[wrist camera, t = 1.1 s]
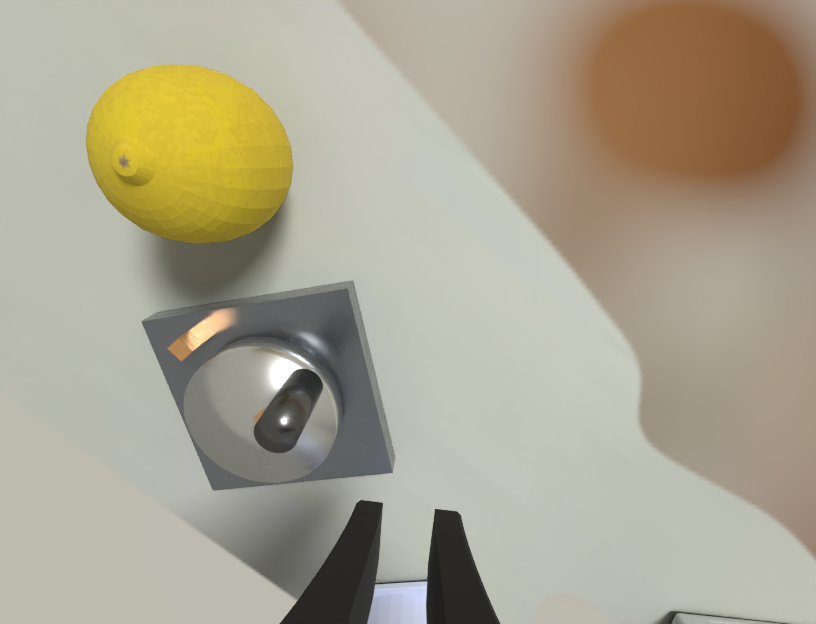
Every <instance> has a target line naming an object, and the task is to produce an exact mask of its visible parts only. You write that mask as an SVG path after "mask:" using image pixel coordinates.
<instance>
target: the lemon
mask: <svg viewBox="0 0 816 624" xmlns="http://www.w3.org/2000/svg"><path fill="white" fill-rule="evenodd" d="M86 147H87V153H88V159H89V165H90V167H91V170H92V172H93V175H94V177H95V180H96V182H97V184H98V186H99V187H100V189H101V190H102V192H103V193H104V195H105V197H106V198H107V200H108V201H109V202H110V203H111V204H112V205H113V206H114V207H115V208H116V209H117V210H118V211H119V212H120V213H121V214H122V215H123V216H124V217H126V218H127V219H129V220H130V221H132V222H133V223H134V224H136V225H137V226H139V227H140V228H142V229H144V230H146V231H148V232H151V233H153V234H155V235H158V236H160V237H163V238H165V239H170V240H175V241H181V242H187V243H195V244H204V243H215V242H225V241H230V240H233V239H236V238H238V237H241V236H244V235H246V234H249V233H251V232H253V231H255V230H256V229H258V228H259V227H260V226H262V225H263V224H264V223H266V222H267V221H268V220H270V219H271V218H272V217H273V216H274V214H275V213H276V212H277V210H278V209H279V208H280V206H281V205H282V203H283V202H284V200H285V198H286V195H287V192H288V190H289V187H290V185H291V180H292V171H293V160H292V152H291V146H290V143H289V140H288V138H287V135H286V132H285V129H284V127H283V126H282V124H281V122H280V121H279V119H278V118H277V116H276V114H275V113H274V111H273V110H272V108H271V107H270V106H269V105H268V104H267V103H266V102H265V101H264V100H263V99H262V98H261V97H260V96H259V95H258V94H257V93H255V92H254V91H253V90H252V89H250V88H248V87H247V86H245V85H244V84H242V83H240V82H239V81H237V80H235V79H234V78H232V77H231V76H229V75H226V74H224V73H220V72H217V71H214V70H211V69H207V68H204V67H200V66H196V65H158V66H153V67H149V68H146V69H143V70H140V71H136V72H133V73H130V74H127V75H126V76H124V77H122V78H121V79H120V80H118V81H117V82H115V83H114V84H113V85H111V86H110V87H108V88H107V89H106V91H105V92H104V93H103V95H102V96H101V97H100V99H99V100H98V102H97V103H96V104H95V106H94V107H93V110H92V113H91V116H90V119H89V122H88V125H87V137H86Z"/></svg>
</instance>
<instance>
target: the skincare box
mask: <svg viewBox="0 0 816 624" xmlns="http://www.w3.org/2000/svg"><path fill="white" fill-rule="evenodd" d="M672 624H781V623H771V622H762V621H752V620H742V619H732V618H722V617H712V616H703V615H693V614H684V613H677V614H676V615H675V617H674V619H673V621H672Z"/></svg>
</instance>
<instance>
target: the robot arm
mask: <svg viewBox="0 0 816 624" xmlns="http://www.w3.org/2000/svg"><path fill="white" fill-rule="evenodd" d="M382 507H383V503H380V502H372V501H364V500H361V501H359V502H358V503H357V504H356V506H355V509H354V511H353V513H352V515H351V517H350V519H349V521H348V523H347V525H346V527H345V529H344V531H343V533H342V534H341V536H340V538H339V540H338V541H337V543H336V545H335V546H334V548H333V549H332V551H331V553H330V554H329V556H328V557H327V559H326V561H325V562H324V564H323V565H322V567H321V568H320V570H319V571H318V573H317V574H316V576H315V577H314V579H313V580H312V581H311V583H310V584H309V586H308V587H307V588H306V590H305V591H304V593H303V594H302V596H301V597H300V598H299V600H298V601H297V602H296V604H295V605H294V606H293V608H292V609H291V610H290V612H289V613H288V614H287V615H286V616H285V618H284V619H283V620H282V622H281V623H280V624H500V622H499V620H498V618H497V616H496V614H495V612H494V609H493V607H492V605H491V603H490V600H489V598H488V596H487V593H486V591H485V588H484V586H483V583H482V581H481V578H480V576H479V573H478V571H477V568H476V565H475V562H474V560H473V557H472V554H471V551H470V548H469V545H468V541H467V538H466V535H465V531H464V527H463V523H462V519H461V515H460V514H459V513H458V512H456V511H448V510H440V509H435V515H434V522H433V530H432V538H431V546H430V553H429V561H428V577H427V581H422V582H407V583H391V584H375V581H376V574H377V567H378V560H379V549H380V535H381V521H382Z"/></svg>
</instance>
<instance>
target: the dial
mask: <svg viewBox="0 0 816 624" xmlns="http://www.w3.org/2000/svg"><path fill="white" fill-rule="evenodd" d="M183 405H184V416H185V421H186V424H187V427H188V429H189V431H190V434H191V436H192V438H193V439H194V441H195V442H196V444H197V445H198V446H199V448H200V449H201V450H202V451H203V452H204V453H205V454H206V455H207V456H208V457H209V458H210V459H211V460H212V461H213V462H215V463H216V464H217V465H219V466H220V467H222V468H223V469H225V470H227V471H229V472H231V473H233V474H235V475H237V476H240V477H242V478H245V479H249V480H253V481H258V482H266V483H280V482H287V481H292V480H295V479H298V478H301V477H303V476H306V475H307V474H309V473H311V472H312V471H314V470H315V469H316V468H317V467H319V466H320V465H321V464H322V462H323V461H324V460H325V459H326V457H327V456H328V454H329V453H330V450H331V448H332V446H333V443H334V441H335V438H336V435H337V433H338V430H339V427H340V424H341V420H342V413H343V407H342V398H341V394H340V391H339V388H338V385H337V383H336V381H335V379H334V378H333V376H332V375H331V373H330V372H329V370H328V369H327V368H326V367H325V366H324V364H323V363H322V362H321V361H320V360H318V359H317V358H316V357H315V356H314V355H312V354H311V353H310V352H308V351H307V350H305V349H303V348H301V347H300V346H298V345H296V344H293V343H291V342H288V341H285V340H281V339H277V338H271V337H249V338H245V339H240V340H237V341H235V342H232V343H230V344H228V345H226V346H224V347H223V348H222V349H220V350H219V351H218V352H217V353H216V354H214V355H213V356H212V357H211V358H210V359H209V360H208V361H207V362H205V363H204V364H203V365H202V366H201V367H200V368H199V369H198V370H197V371H196V372H195V373H194V375H193V376H192V378H191V379H190V381H189V383H188V385H187V388H186V391H185V395H184V403H183Z"/></svg>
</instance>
